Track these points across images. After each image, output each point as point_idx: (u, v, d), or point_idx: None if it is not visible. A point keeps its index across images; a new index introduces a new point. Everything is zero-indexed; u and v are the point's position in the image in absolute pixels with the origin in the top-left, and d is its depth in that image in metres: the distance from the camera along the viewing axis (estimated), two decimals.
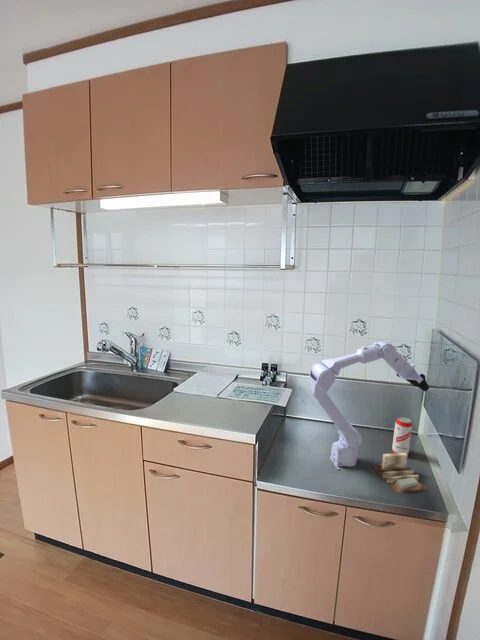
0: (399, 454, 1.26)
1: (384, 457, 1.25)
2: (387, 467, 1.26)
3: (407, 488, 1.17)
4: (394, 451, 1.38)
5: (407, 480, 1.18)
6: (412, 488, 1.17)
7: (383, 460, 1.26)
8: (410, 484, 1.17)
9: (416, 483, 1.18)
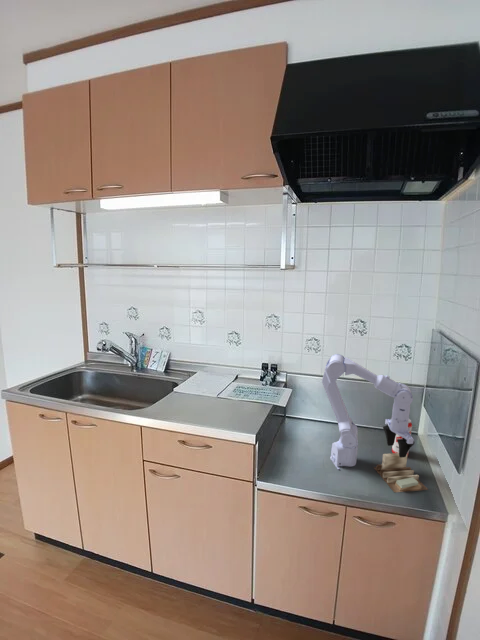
0: None
1: (384, 457, 1.25)
2: (387, 467, 1.26)
3: (407, 488, 1.17)
4: (394, 451, 1.38)
5: (407, 480, 1.18)
6: (412, 488, 1.17)
7: (383, 460, 1.26)
8: (410, 484, 1.17)
9: (416, 483, 1.18)
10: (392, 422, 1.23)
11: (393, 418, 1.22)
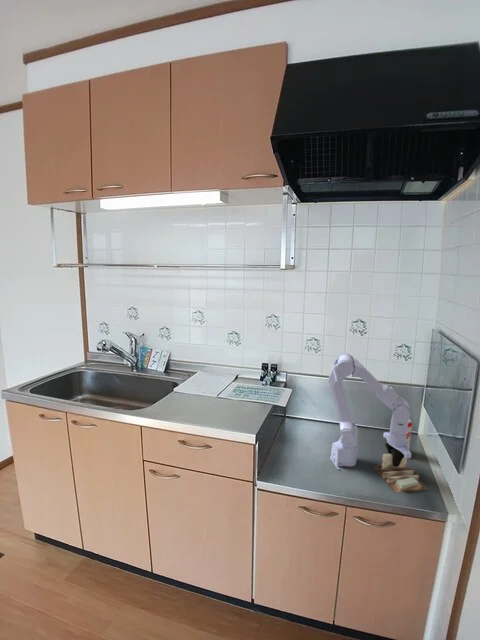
0: None
1: (384, 457, 1.25)
2: (387, 467, 1.26)
3: (407, 488, 1.17)
4: None
5: (407, 480, 1.18)
6: (412, 488, 1.17)
7: (383, 460, 1.26)
8: (410, 484, 1.17)
9: (416, 483, 1.18)
10: (390, 436, 1.24)
11: (391, 432, 1.23)
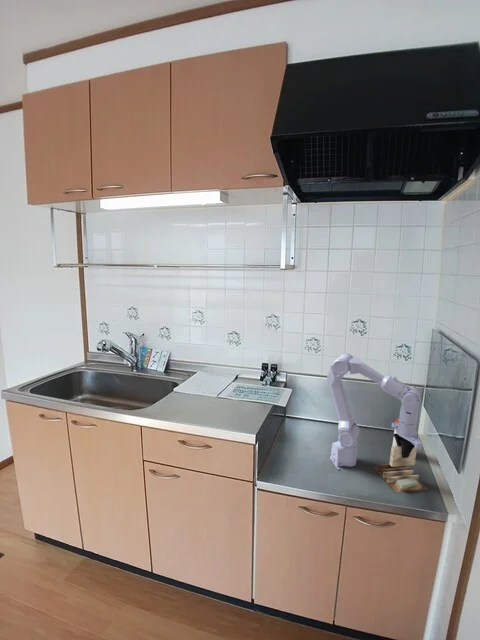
0: None
1: (393, 450, 1.20)
2: (396, 461, 1.20)
3: (407, 488, 1.17)
4: None
5: (407, 480, 1.18)
6: (412, 488, 1.17)
7: (391, 453, 1.20)
8: (410, 484, 1.17)
9: (416, 483, 1.18)
10: (399, 426, 1.19)
11: (400, 422, 1.18)
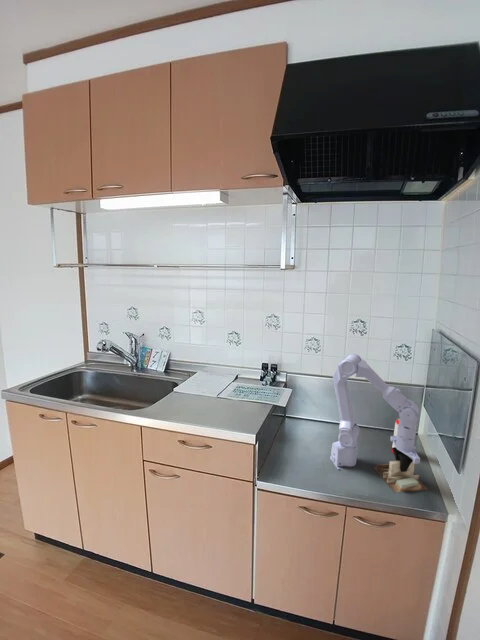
0: None
1: (391, 464, 1.21)
2: (394, 475, 1.21)
3: (407, 488, 1.17)
4: None
5: (407, 480, 1.18)
6: (412, 488, 1.17)
7: (390, 468, 1.21)
8: (410, 484, 1.17)
9: (416, 483, 1.18)
10: (398, 440, 1.19)
11: (399, 436, 1.19)
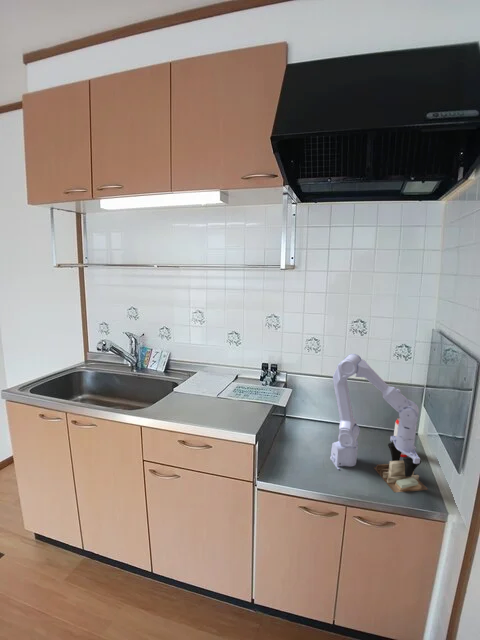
0: None
1: (391, 464, 1.21)
2: (394, 475, 1.21)
3: (407, 488, 1.17)
4: None
5: (407, 480, 1.18)
6: (412, 488, 1.17)
7: (390, 468, 1.21)
8: (410, 484, 1.17)
9: (416, 483, 1.18)
10: (398, 440, 1.19)
11: (399, 436, 1.19)
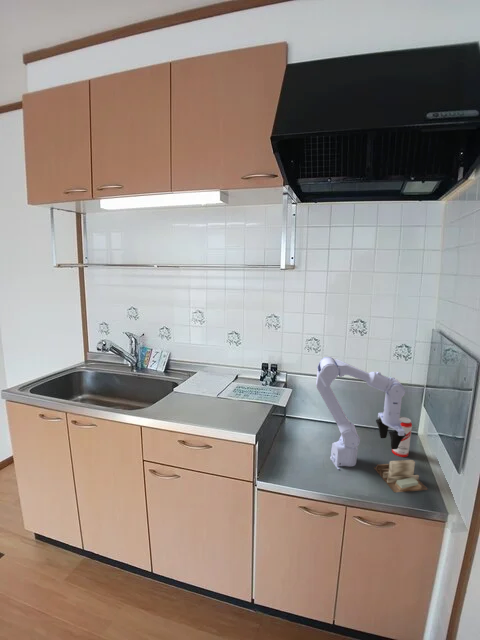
0: (406, 461, 1.21)
1: (391, 464, 1.21)
2: (394, 475, 1.21)
3: (407, 488, 1.17)
4: (394, 451, 1.38)
5: (407, 480, 1.18)
6: (412, 488, 1.17)
7: (390, 468, 1.21)
8: (410, 484, 1.17)
9: (416, 483, 1.18)
10: (384, 415, 1.26)
11: (385, 411, 1.26)
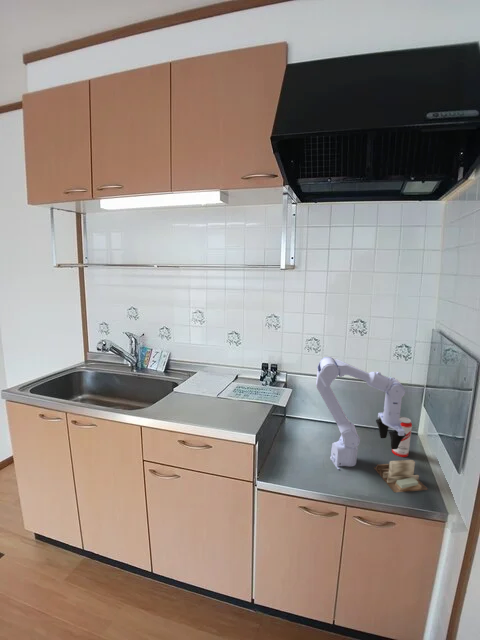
0: (406, 461, 1.21)
1: (391, 464, 1.21)
2: (394, 475, 1.21)
3: (407, 488, 1.17)
4: (394, 451, 1.38)
5: (407, 480, 1.18)
6: (412, 488, 1.17)
7: (390, 468, 1.21)
8: (410, 484, 1.17)
9: (416, 483, 1.18)
10: (384, 415, 1.26)
11: (385, 411, 1.26)
